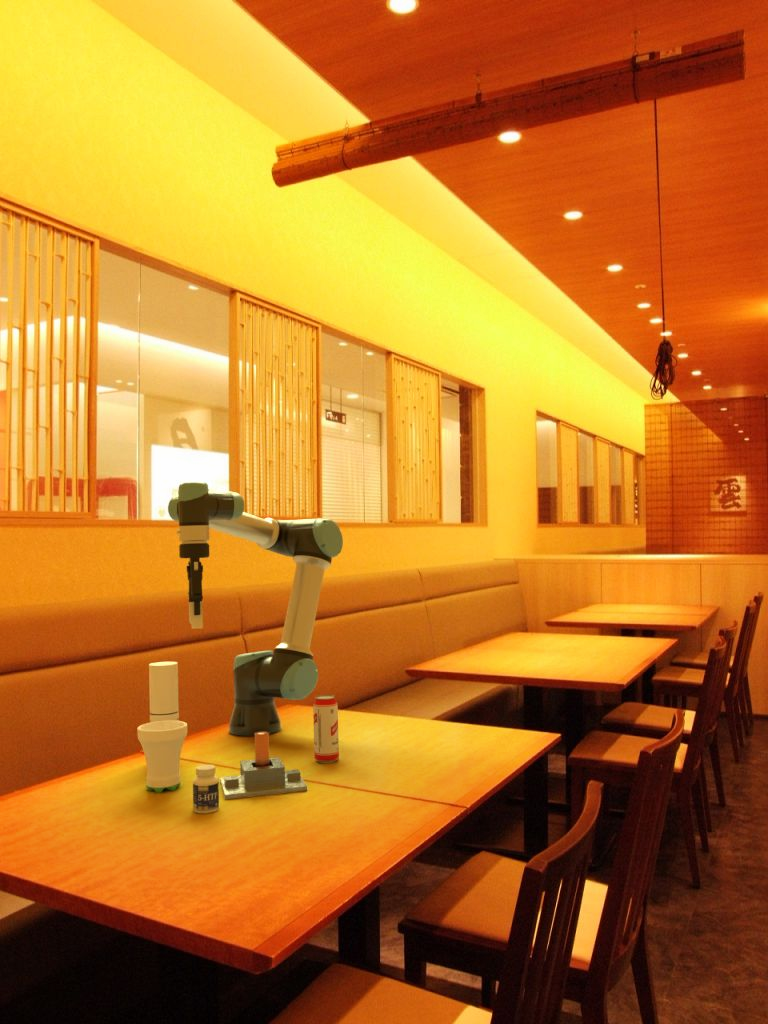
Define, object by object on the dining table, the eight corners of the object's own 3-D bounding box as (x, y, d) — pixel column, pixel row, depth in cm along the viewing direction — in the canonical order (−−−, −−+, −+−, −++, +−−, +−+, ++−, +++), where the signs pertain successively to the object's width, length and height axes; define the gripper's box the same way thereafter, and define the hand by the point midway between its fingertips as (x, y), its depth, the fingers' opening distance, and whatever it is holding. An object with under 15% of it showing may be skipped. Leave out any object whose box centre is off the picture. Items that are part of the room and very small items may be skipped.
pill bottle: (197, 815, 170) (196, 771, 171) (190, 808, 175) (189, 766, 175) (222, 811, 173) (221, 768, 173) (215, 804, 178) (214, 762, 178)
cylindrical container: (144, 764, 212) (143, 665, 213) (162, 756, 219) (160, 661, 220) (168, 766, 210) (166, 666, 210) (185, 758, 216) (183, 662, 217)
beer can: (340, 757, 214) (339, 694, 214) (337, 763, 207) (335, 699, 208) (316, 757, 214) (315, 694, 215) (312, 763, 208) (310, 699, 209)
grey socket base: (220, 781, 194) (219, 760, 194) (296, 774, 199) (296, 753, 199) (225, 799, 181) (224, 776, 181) (307, 790, 186) (306, 767, 186)
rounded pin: (254, 785, 191) (253, 732, 191) (268, 783, 192) (267, 731, 192) (256, 789, 188) (255, 735, 188) (270, 787, 189) (269, 734, 189)
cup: (166, 778, 198) (165, 718, 199) (199, 785, 192) (197, 723, 192) (127, 790, 189) (126, 727, 190) (160, 798, 183) (158, 733, 183)
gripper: (177, 543, 224) (179, 622, 224) (180, 542, 200) (182, 631, 200) (206, 542, 226) (207, 620, 226) (212, 541, 202) (214, 629, 202)
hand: (195, 626), depth 213 cm, fingers open, 13 cm apart
